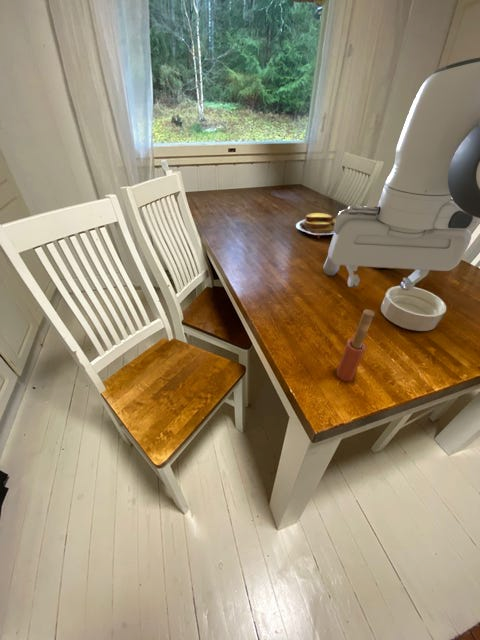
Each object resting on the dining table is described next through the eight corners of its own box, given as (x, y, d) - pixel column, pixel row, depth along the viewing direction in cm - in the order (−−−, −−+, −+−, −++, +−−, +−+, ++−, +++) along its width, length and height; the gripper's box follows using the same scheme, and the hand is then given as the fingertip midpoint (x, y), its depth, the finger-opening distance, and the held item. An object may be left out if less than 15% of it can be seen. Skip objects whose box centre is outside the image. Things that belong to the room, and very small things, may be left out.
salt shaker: (339, 276, 101) (348, 243, 93) (324, 276, 101) (331, 243, 93) (335, 269, 106) (344, 236, 98) (320, 268, 106) (328, 236, 98)
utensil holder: (355, 373, 65) (367, 343, 59) (350, 384, 63) (362, 353, 56) (339, 366, 67) (350, 336, 61) (334, 376, 64) (344, 346, 58)
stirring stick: (351, 372, 64) (375, 311, 53) (348, 377, 63) (373, 316, 52) (342, 368, 65) (365, 308, 54) (340, 373, 64) (362, 313, 53)
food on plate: (325, 244, 124) (328, 230, 120) (285, 228, 139) (286, 215, 135) (356, 231, 137) (359, 217, 133) (316, 218, 152) (318, 206, 148)
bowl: (439, 312, 85) (448, 296, 81) (433, 340, 75) (443, 323, 71) (386, 296, 91) (392, 280, 88) (374, 319, 81) (380, 303, 78)
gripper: (343, 212, 39) (323, 293, 48) (493, 218, 38) (444, 300, 46) (335, 199, 44) (318, 275, 52) (468, 204, 42) (428, 281, 51)
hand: (378, 287), depth 49 cm, fingers open, 8 cm apart
